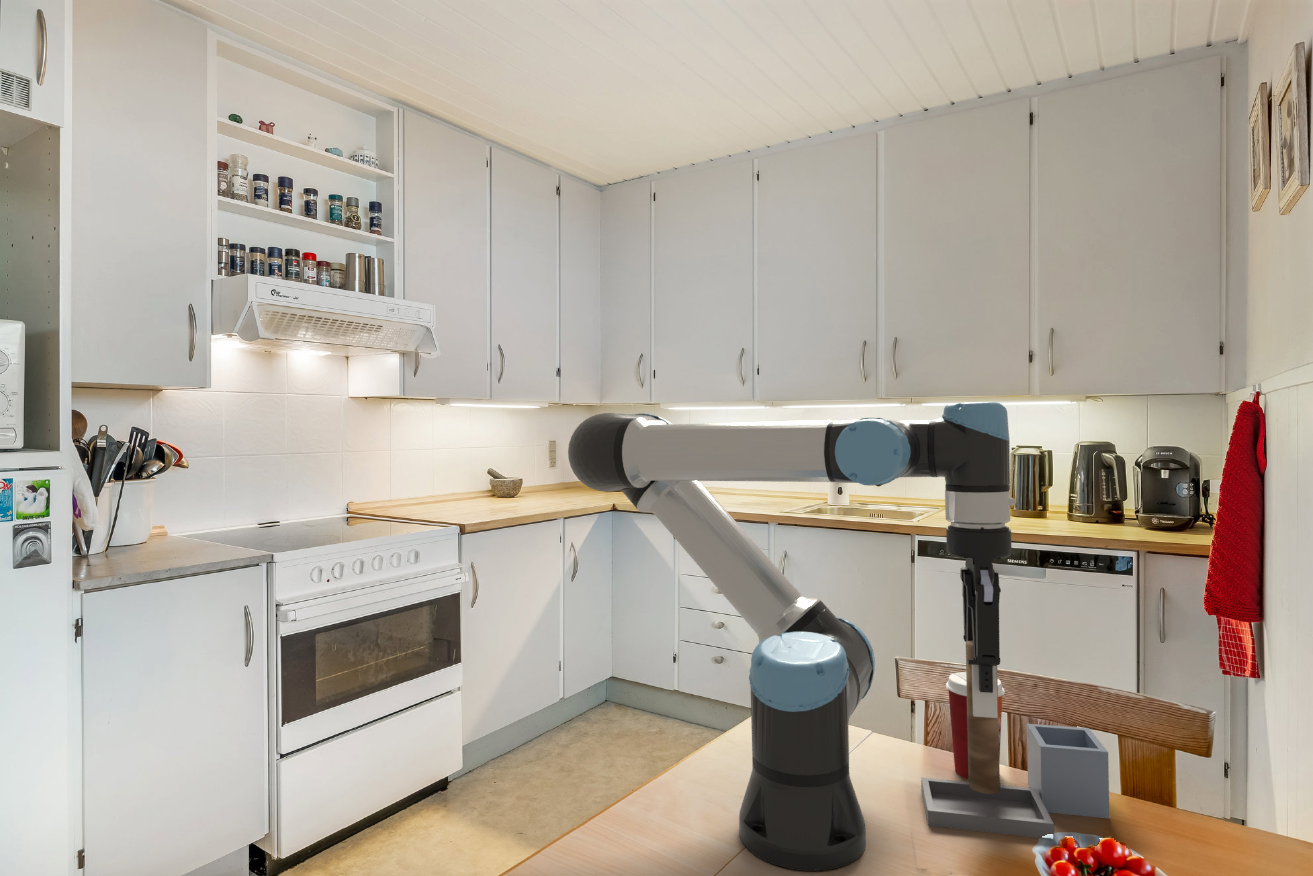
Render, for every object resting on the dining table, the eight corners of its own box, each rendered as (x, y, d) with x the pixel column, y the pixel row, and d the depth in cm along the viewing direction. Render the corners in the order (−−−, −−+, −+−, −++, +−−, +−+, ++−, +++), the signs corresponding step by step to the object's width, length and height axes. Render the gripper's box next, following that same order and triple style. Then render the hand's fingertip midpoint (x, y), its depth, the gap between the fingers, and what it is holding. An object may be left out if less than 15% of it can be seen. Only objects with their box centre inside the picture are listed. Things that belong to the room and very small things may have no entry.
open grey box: (1042, 817, 92) (1040, 746, 92) (1028, 789, 100) (1026, 723, 100) (1109, 824, 90) (1108, 752, 90) (1090, 795, 98) (1089, 728, 98)
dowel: (971, 792, 91) (967, 647, 91) (966, 779, 94) (963, 639, 94) (1002, 795, 90) (999, 649, 90) (996, 782, 93) (993, 641, 93)
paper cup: (1013, 793, 99) (1011, 689, 99) (953, 788, 100) (951, 686, 100) (998, 767, 107) (996, 671, 107) (942, 763, 108) (940, 669, 108)
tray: (928, 831, 90) (927, 810, 90) (921, 796, 98) (921, 777, 98) (1054, 846, 86) (1053, 824, 86) (1035, 808, 95) (1035, 788, 95)
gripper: (1025, 533, 83) (1030, 738, 83) (997, 517, 99) (1001, 690, 99) (955, 532, 85) (959, 733, 85) (938, 517, 101) (942, 686, 101)
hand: (982, 709), depth 92 cm, fingers closed on dowel, 3 cm apart
